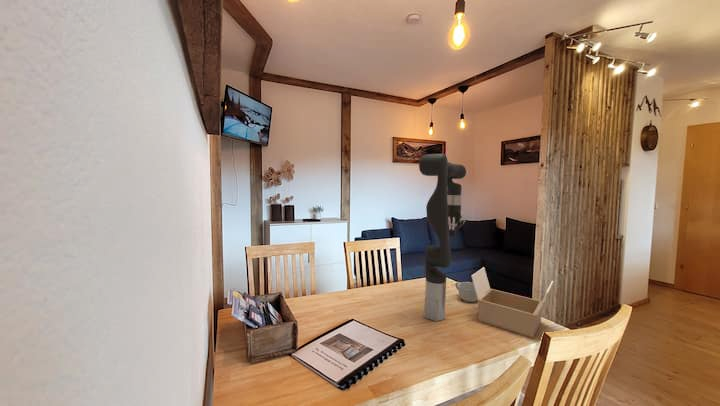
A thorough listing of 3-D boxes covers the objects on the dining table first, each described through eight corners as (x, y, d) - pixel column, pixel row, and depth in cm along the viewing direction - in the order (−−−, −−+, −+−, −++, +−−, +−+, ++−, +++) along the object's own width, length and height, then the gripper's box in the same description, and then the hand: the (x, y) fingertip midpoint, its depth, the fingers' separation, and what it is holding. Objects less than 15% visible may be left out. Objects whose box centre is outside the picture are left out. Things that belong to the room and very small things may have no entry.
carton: (533, 339, 118) (535, 315, 117) (477, 321, 132) (478, 299, 131) (540, 322, 132) (542, 301, 131) (489, 308, 146) (490, 288, 145)
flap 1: (472, 275, 133) (471, 275, 133) (478, 299, 132) (477, 299, 132) (484, 267, 146) (483, 267, 146) (490, 288, 145) (489, 288, 145)
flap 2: (535, 314, 117) (537, 315, 117) (546, 292, 114) (547, 292, 114) (542, 301, 130) (543, 301, 130) (552, 280, 127) (553, 281, 127)
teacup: (484, 302, 152) (484, 287, 152) (467, 305, 148) (468, 290, 148) (465, 292, 165) (465, 278, 164) (449, 295, 161) (450, 281, 160)
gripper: (438, 203, 153) (437, 235, 154) (463, 205, 144) (461, 239, 146) (444, 202, 158) (443, 233, 160) (469, 204, 150) (467, 237, 151)
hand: (452, 236), depth 153 cm, fingers closed
